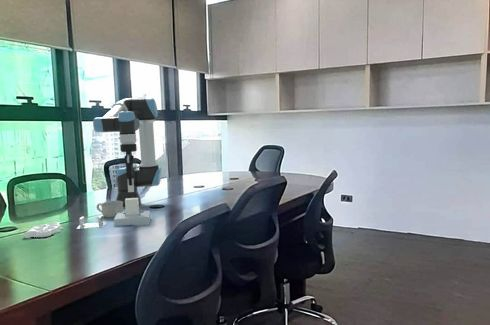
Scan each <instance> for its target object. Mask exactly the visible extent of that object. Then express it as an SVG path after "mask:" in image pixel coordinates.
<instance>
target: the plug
mask: <svg viewBox="0 0 490 325" xmlns="http://www.w3.org/2000/svg"><path fill="white" fill-rule="evenodd" d="M139 206H140V204H139V201H138V198H126V199H125V206H124V207H125V212H126V216H139V211H140V207H139Z"/></svg>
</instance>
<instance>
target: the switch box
mask: <svg viewBox="0 0 490 325" xmlns="http://www.w3.org/2000/svg"><path fill="white" fill-rule="evenodd" d="M150 222H151V210H142V211H140V210H139V216H126V211H125V212H123V213H117V215H116V216H115V217H113V226H114V227H117V226H118V227H120V226H130V225H133V227H137V226H138V227H139V226H149V225H150Z"/></svg>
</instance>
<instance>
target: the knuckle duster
mask: <svg viewBox="0 0 490 325" xmlns="http://www.w3.org/2000/svg"><path fill="white" fill-rule="evenodd" d="M63 229H64V227H61V223H60V222H48V223H46V224H45V223H44V224H39V225H34V226H33V227H32V228H30V229H29V230H27V231H26V232H24V233H23V234H22V237H23V238H24V239H31V238H30V237H34V238H35V237H36V238H44V237H50V236H52V235H53V234H57V233H60V232H61V231H62V230H63Z"/></svg>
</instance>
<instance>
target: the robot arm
mask: <svg viewBox="0 0 490 325" xmlns="http://www.w3.org/2000/svg"><path fill="white" fill-rule="evenodd" d="M158 111H159V110H158V106H157V103H156V100H155V98H153V97H129V98H123V99H120V100H118V101H117V102H115V103H114V104H113V105H112V106H111V109H110V110H109V111H108V112H107V113H105V114H104V115H103V116H102V117H100V116H99V117H95V118H93V122H92V126H93V130H94V132H95V133H119V136H118V140H119V143H120V145H119V147H120V152H121V153H125V155H124V160H125V161H124V164H125V166H124V167H120V168H118V169H117V170H116V182H117V183H116V185H117V186H116V187H117V194H116V198H115V201H122V202H123V207H125V199H126V198H138V201H139V205H140V204H142V199H141V196H140V194H139V192H138V188H143V187H144V188H145V187H146V188H147V187H158V186H159V185H160V183H161V181H162V180H161V179H162V167H161V166H159V163H158V162H156V148H155V132H154V123H155V121H156V118H157V117H158ZM136 131H138V133H139V134H138V135H139V145H140V146H139V148H140V150H139V151H140V159H141V161H140V162H141V163H140V164H139V165H138V167H137V165H134V155H133V152H134V153H135V152H137V149H138V147H137V144H136V143H137V134H136Z"/></svg>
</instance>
